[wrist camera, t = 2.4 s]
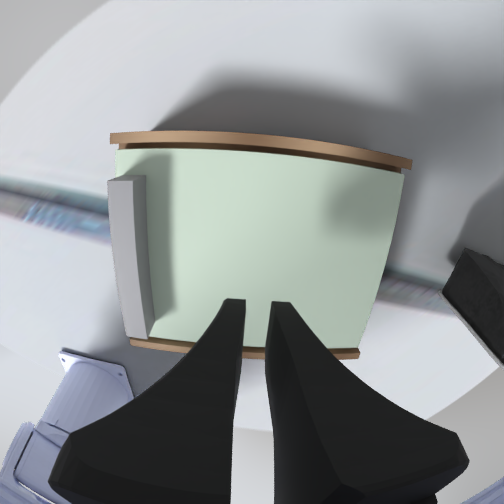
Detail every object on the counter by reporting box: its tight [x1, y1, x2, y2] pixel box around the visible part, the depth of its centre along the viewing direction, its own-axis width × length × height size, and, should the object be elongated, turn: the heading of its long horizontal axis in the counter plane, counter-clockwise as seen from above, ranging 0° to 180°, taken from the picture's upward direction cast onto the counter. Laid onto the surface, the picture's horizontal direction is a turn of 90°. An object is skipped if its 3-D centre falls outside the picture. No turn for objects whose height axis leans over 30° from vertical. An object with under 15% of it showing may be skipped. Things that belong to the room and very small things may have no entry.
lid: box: [107, 148, 405, 348], centre depth 13 cm, size 14×10×2 cm
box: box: [110, 131, 412, 360], centre depth 16 cm, size 14×12×5 cm
